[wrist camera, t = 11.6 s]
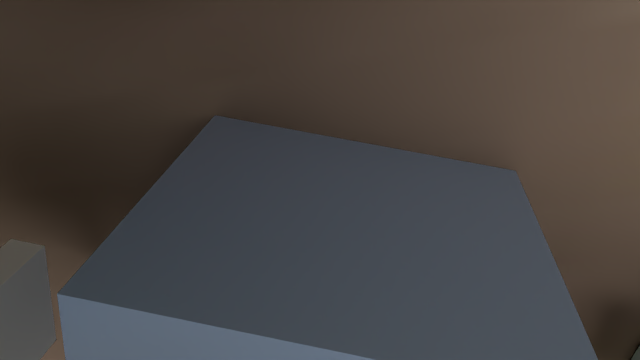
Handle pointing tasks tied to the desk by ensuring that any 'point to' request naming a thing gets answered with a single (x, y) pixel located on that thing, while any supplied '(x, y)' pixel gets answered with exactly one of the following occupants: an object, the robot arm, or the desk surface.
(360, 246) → the brick blue
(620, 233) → the desk surface
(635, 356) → the base plate
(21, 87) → the desk surface
